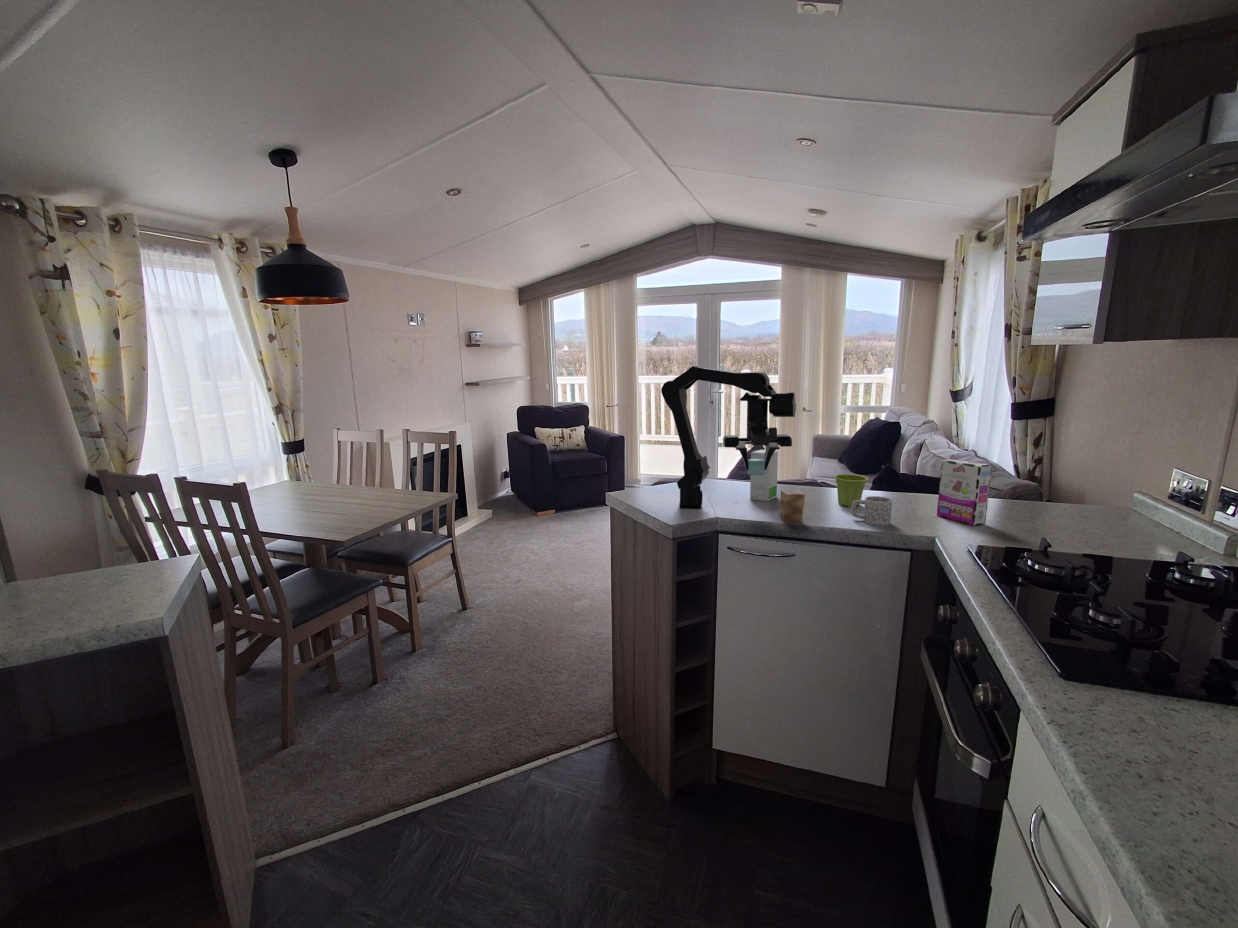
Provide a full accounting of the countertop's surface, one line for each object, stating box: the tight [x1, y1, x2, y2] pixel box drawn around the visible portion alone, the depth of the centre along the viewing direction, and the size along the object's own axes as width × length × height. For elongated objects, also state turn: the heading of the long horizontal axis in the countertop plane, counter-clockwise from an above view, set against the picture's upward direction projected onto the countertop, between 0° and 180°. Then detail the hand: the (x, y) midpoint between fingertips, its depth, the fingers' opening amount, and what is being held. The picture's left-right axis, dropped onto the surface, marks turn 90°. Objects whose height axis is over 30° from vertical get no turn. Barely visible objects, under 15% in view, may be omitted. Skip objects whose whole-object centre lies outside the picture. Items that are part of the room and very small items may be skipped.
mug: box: [850, 495, 893, 527], centre depth 146 cm, size 10×7×7 cm, turn 59°
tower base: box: [779, 504, 804, 523], centre depth 149 cm, size 5×5×4 cm
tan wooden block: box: [779, 489, 806, 509], centre depth 149 cm, size 5×5×4 cm
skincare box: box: [749, 449, 779, 502], centre depth 172 cm, size 8×7×16 cm
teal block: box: [747, 458, 765, 476], centre depth 154 cm, size 5×5×4 cm
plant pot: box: [834, 473, 869, 508], centre depth 163 cm, size 9×9×9 cm
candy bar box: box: [936, 458, 993, 527], centre depth 145 cm, size 11×5×16 cm, turn 21°
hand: (756, 470), depth 154 cm, fingers closed on teal block, 5 cm apart
